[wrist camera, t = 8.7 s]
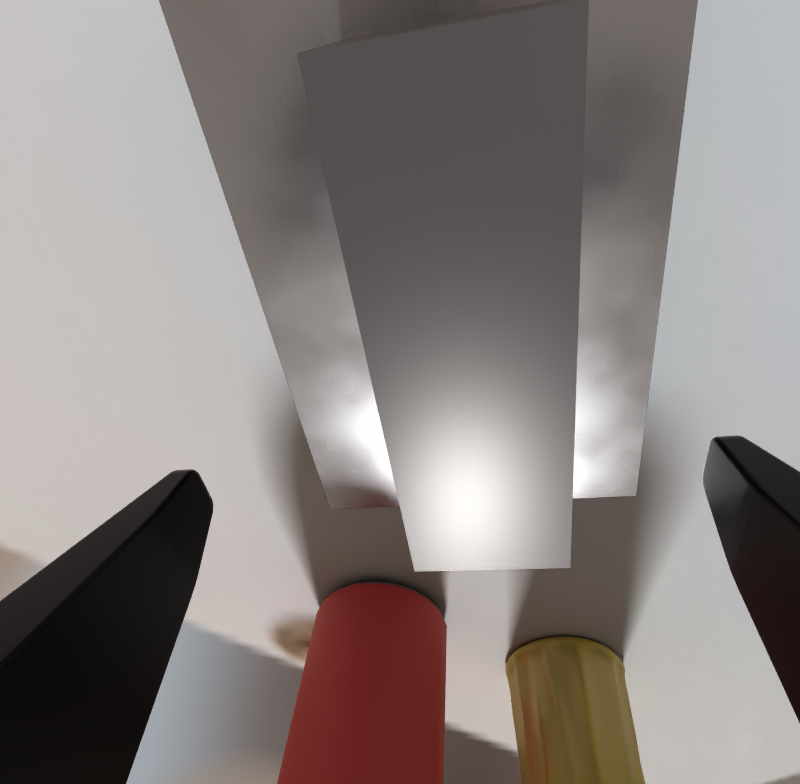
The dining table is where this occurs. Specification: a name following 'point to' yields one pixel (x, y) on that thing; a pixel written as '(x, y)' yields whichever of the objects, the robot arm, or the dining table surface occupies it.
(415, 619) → the beer can
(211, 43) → the mount plate
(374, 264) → the grey rectangular block
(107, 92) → the dining table surface
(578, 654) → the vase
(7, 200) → the dining table surface
